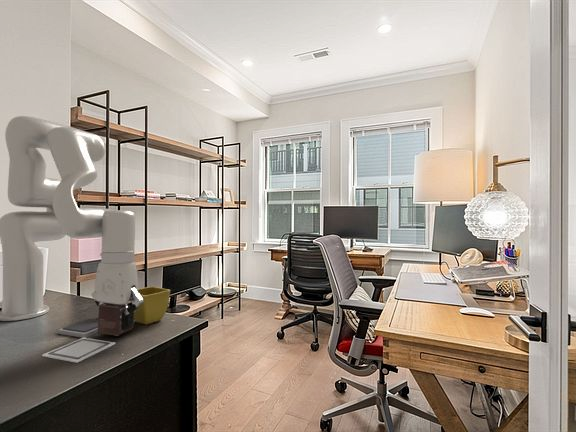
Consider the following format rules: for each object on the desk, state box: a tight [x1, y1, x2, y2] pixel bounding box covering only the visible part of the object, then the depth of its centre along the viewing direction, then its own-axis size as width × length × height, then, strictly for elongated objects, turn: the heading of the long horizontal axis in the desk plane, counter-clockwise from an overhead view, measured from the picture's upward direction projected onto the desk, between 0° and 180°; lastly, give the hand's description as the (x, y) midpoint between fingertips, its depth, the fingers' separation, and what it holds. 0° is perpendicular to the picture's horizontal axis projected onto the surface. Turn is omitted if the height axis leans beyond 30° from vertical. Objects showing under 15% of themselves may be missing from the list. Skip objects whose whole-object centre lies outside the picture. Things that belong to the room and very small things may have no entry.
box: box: [97, 301, 135, 337], centre depth 81 cm, size 6×6×7 cm
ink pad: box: [57, 318, 99, 338], centre depth 84 cm, size 9×9×1 cm
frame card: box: [41, 337, 116, 363], centre depth 72 cm, size 10×10×1 cm
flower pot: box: [134, 285, 171, 325], centre depth 91 cm, size 9×9×9 cm
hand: (116, 326), depth 81 cm, fingers closed on box, 6 cm apart
